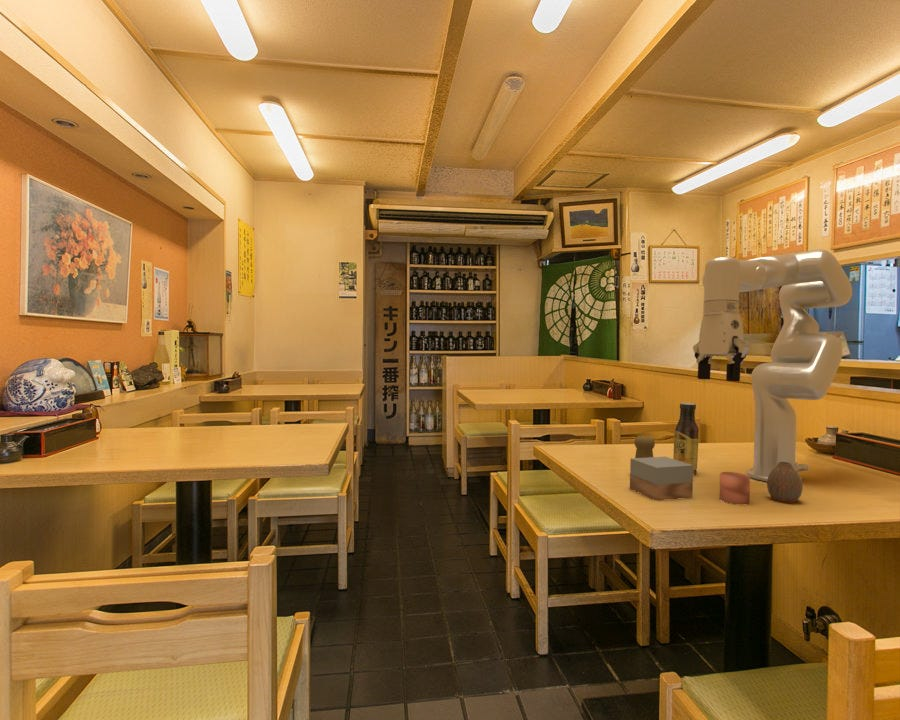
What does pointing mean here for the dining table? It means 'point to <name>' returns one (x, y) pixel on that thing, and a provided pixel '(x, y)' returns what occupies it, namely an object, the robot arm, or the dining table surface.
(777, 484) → the brown egg-shaped piece
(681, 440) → the sauce bottle
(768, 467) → the robot arm
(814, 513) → the dining table surface
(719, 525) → the dining table surface
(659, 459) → the tower top block
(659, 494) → the tower bottom block
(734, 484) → the reddish pink cylinder
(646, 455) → the cork
